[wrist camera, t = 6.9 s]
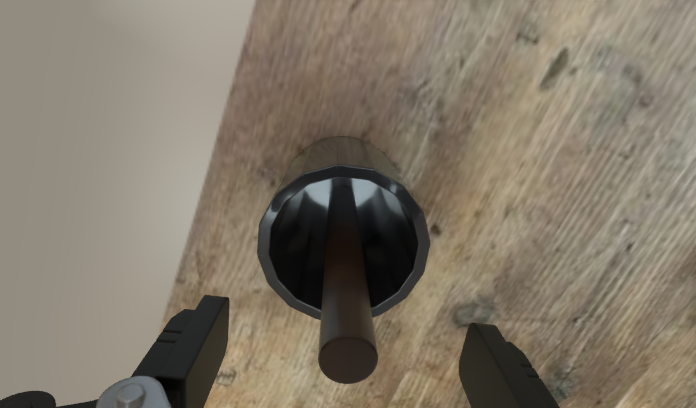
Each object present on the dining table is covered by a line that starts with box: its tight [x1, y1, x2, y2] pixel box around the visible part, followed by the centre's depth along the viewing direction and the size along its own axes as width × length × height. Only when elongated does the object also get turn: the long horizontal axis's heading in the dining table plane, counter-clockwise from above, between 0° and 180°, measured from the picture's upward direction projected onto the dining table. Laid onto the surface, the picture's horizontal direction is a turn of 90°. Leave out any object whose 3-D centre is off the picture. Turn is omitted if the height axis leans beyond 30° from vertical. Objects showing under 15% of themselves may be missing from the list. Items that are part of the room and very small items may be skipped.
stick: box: [318, 187, 378, 384], centre depth 19 cm, size 2×2×16 cm
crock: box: [257, 136, 430, 320], centre depth 23 cm, size 8×8×9 cm
